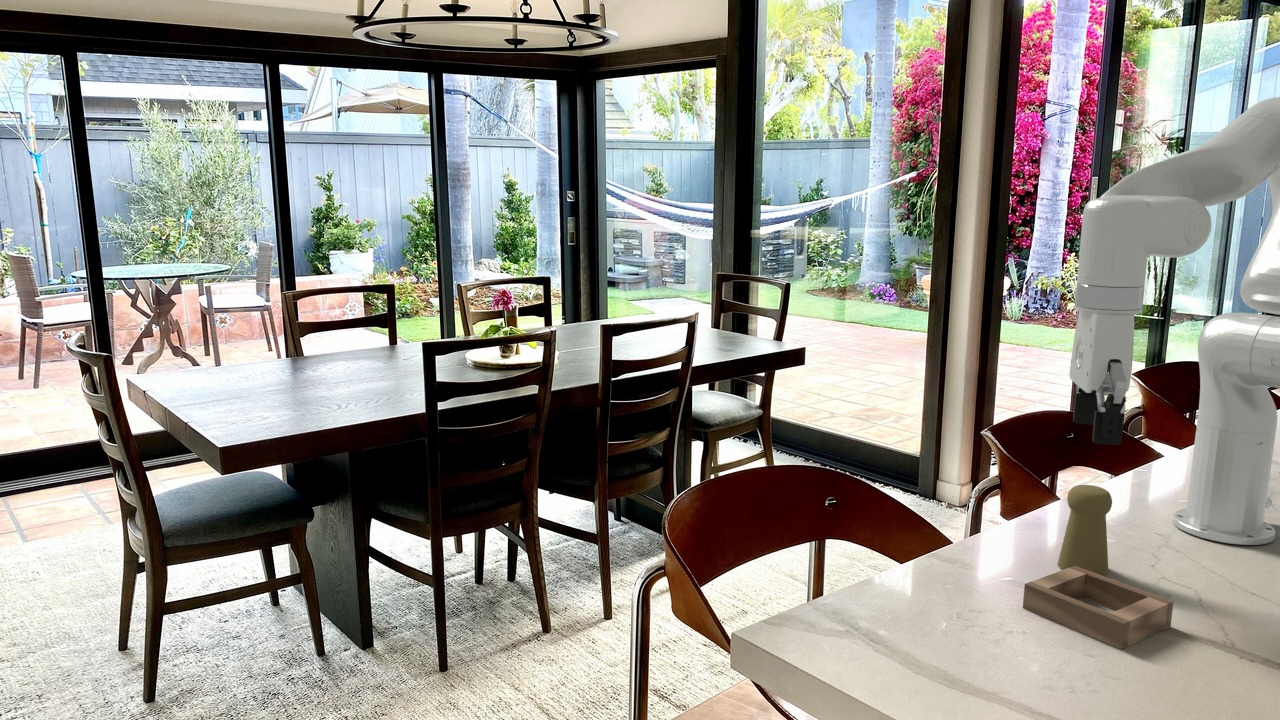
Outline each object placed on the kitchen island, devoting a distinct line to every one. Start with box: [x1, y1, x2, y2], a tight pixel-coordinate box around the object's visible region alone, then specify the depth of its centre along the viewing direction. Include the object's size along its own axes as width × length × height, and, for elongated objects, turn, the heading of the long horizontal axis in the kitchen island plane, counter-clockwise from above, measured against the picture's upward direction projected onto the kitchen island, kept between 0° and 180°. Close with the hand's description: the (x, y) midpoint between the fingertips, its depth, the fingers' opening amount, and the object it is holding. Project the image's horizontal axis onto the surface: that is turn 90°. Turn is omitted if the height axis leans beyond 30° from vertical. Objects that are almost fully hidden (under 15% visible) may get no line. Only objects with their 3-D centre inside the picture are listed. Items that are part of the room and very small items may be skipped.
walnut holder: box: [1022, 566, 1174, 650], centre depth 108 cm, size 10×12×3 cm
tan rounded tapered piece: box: [1057, 484, 1113, 577], centre depth 121 cm, size 6×6×11 cm
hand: (1095, 433), depth 119 cm, fingers open, 9 cm apart
